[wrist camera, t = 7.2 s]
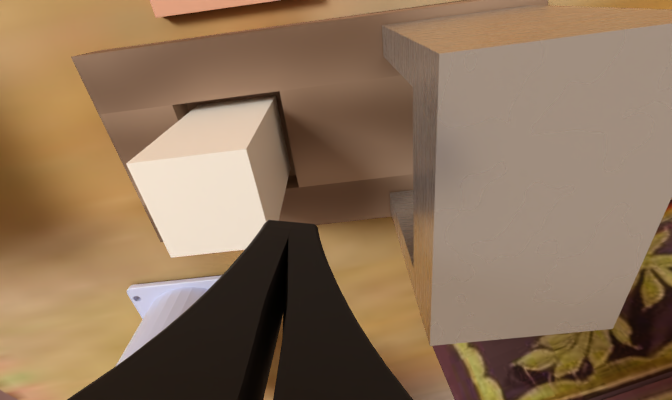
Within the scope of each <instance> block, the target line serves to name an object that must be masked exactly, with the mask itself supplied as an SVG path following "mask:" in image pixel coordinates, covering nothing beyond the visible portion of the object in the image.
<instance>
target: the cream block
mask: <svg viewBox="0 0 672 400" xmlns="http://www.w3.org/2000/svg"><path fill="white" fill-rule="evenodd" d="M126 165H127V167H128V169H129V171H130V173H131V175H132V177H133V179H134V181H135V183H136V185H137V188H138V190H139V192H140V194H141V196H142V198H143V200H144V202H145V204H146V206H147V208H148V210H149V213H150V215H151V217H152V219H153V221H154V223H155V225H156V227H157V229H158V231H159V233H160V236H161V238H162V240H163V242H164V244H165V246H166V248H167V250H168V252H169V254H170V256H171V257H180V256H190V255H199V254H208V253H217V252H226V251H236V250H245V249H246V248H247V247H248V245H249V244H250V243H251V242H252V240H253V239H254V238H255V236H256V235H257V234H258V232H259V231H260V229H261V228H262V226H263V225H264V223H265V222H267V221H268V220H276V221H279V217H280V212H281V208H282V203H283V199H284V194H285V190H286V186H287V181H288V177H289V172H290V163H289V158H288V154H287V149H286V144H285V139H284V134H283V130H282V125H281V120H280V115H279V111H278V106H277V101H276V96H268V97H260V98H252V99H245V100H237V101H229V102H221V103H214V104H206V105H198V106H196V107H195V108H194V109H192V110H191V111H190V112H189V113H188V114H186V115H185V116H184V117H183V118H181V119H180V120H179V121H178V122H177V123H175V124H174V125H173V126H172V127H170V128H169V129H168V130H167V131H166V132H164V133H163V134H162V135H161V136H159V137H158V138H157V139H156V140H154V141H153V142H152V143H151V144H150V145H148V146H147V147H146V148H145V149H143V150H142V151H141V152H140V153H139V154H137V155H136V156H135V157H134V158H132V159H131V160H130V161H129V162H128V163H126Z"/></svg>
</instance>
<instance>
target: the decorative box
mask: <svg viewBox="0 0 672 400" xmlns="http://www.w3.org/2000/svg"><path fill="white" fill-rule="evenodd" d="M433 349H434V351H435V353H436V356H437V358H438V360H439V363H440V365H441V368H442V370H443V372H444V375H445V377H446V380H447V382H448V384H449V387H450V389H451V392H452V394H453V396H454V399H455V400H672V200H670V202H669V204H668V207H667V209H666V211H665V213H664V216H663V218H662V220H661V222H660V225H659V227H658V229H657V231H656V233H655V236H654V238H653V240H652V242H651V245H650V247H649V249H648V251H647V254H646V256H645V258H644V260H643V263H642V265H641V267H640V269H639V271H638V274H637V276H636V278H635V280H634V283H633V285H632V287H631V289H630V292H629V294H628V296H627V298H626V301H625V303H624V305H623V307H622V309H621V312H620V314H619V316H618V318H617V321H616V323H615V325H614V327H613V329H606V330H595V331H585V332H574V333H563V334H553V335H542V336H531V337H520V338H510V339H499V340H488V341H478V342H467V343H456V344H446V345H435V346H433Z"/></svg>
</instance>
